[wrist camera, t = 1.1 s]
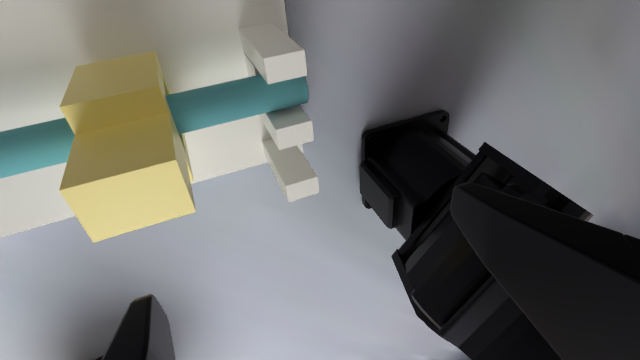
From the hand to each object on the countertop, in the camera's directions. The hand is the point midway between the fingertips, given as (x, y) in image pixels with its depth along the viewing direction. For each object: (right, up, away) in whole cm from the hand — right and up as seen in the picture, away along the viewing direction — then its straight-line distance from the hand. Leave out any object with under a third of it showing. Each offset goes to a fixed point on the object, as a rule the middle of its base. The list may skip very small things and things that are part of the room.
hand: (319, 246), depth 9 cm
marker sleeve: (-8, +5, +7) cm, 12 cm away
